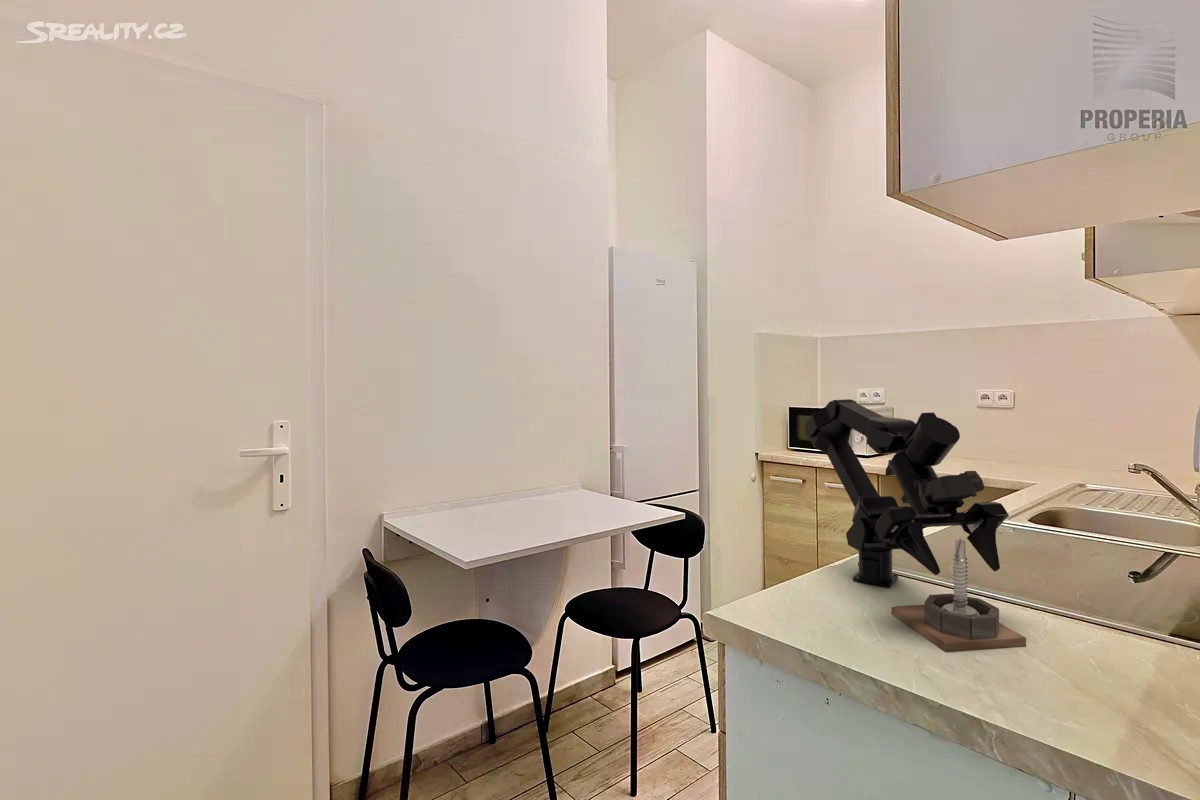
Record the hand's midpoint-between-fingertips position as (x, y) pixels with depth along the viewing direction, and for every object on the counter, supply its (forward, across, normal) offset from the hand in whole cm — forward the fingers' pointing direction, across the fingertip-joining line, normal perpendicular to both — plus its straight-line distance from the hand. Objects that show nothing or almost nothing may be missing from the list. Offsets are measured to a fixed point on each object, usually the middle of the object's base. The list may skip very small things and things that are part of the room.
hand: (967, 571), depth 85 cm
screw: (+5, 0, +7) cm, 9 cm away
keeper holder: (+5, 0, +9) cm, 10 cm away
